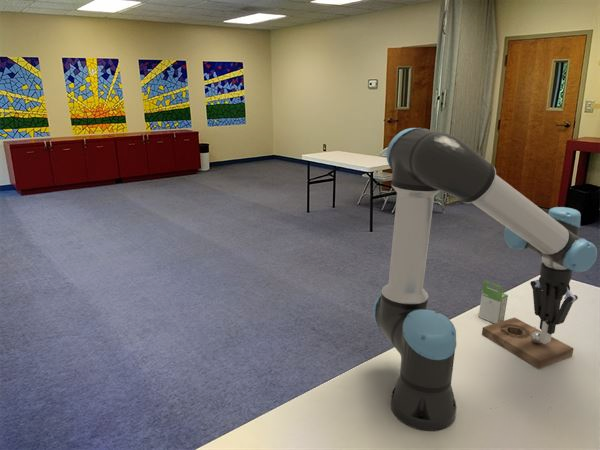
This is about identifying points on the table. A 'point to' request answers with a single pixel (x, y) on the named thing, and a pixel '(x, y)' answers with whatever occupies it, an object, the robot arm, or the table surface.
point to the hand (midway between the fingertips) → (545, 341)
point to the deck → (526, 343)
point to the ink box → (492, 303)
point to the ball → (536, 337)
